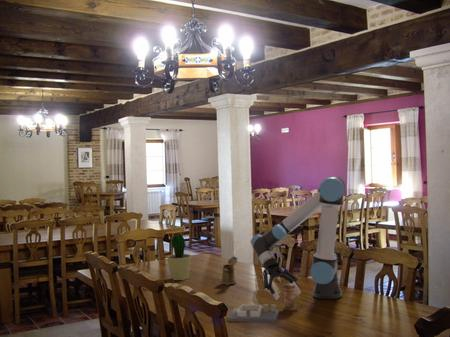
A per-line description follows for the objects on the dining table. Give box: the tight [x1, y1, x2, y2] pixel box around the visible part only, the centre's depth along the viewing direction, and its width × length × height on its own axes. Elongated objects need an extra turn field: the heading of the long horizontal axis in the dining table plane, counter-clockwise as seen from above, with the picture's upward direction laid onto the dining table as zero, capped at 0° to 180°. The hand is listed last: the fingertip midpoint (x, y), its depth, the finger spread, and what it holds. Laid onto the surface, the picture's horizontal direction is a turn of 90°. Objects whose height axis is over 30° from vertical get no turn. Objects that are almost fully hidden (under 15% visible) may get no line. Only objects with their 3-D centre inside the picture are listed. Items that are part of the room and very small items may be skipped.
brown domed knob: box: [283, 282, 298, 312], centre depth 240 cm, size 7×7×12 cm
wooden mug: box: [220, 256, 238, 286], centre depth 294 cm, size 9×14×18 cm, turn 26°
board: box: [227, 303, 280, 324], centre depth 231 cm, size 22×16×4 cm
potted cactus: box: [166, 233, 192, 281], centre depth 315 cm, size 15×15×30 cm
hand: (288, 296), depth 240 cm, fingers open, 13 cm apart
